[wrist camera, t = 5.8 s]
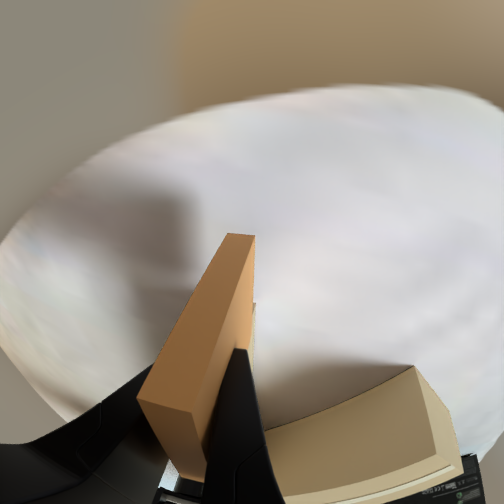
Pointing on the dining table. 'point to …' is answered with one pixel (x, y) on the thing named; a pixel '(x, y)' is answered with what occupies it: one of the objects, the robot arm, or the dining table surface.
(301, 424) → the carton
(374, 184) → the dining table surface
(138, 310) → the dining table surface
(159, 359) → the carton flap
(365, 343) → the dining table surface
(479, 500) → the graphics card box
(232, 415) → the robot arm
